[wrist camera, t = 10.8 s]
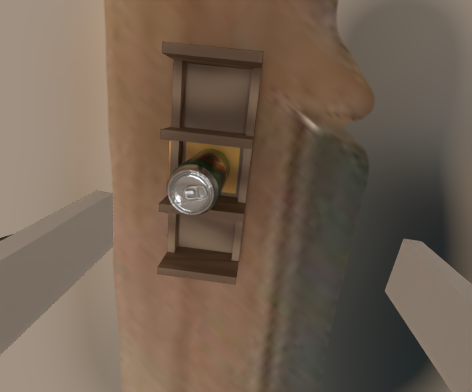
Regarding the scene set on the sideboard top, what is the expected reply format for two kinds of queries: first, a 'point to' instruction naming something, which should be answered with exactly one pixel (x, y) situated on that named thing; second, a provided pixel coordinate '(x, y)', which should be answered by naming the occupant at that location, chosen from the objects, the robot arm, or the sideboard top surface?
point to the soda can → (198, 182)
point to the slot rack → (210, 137)
